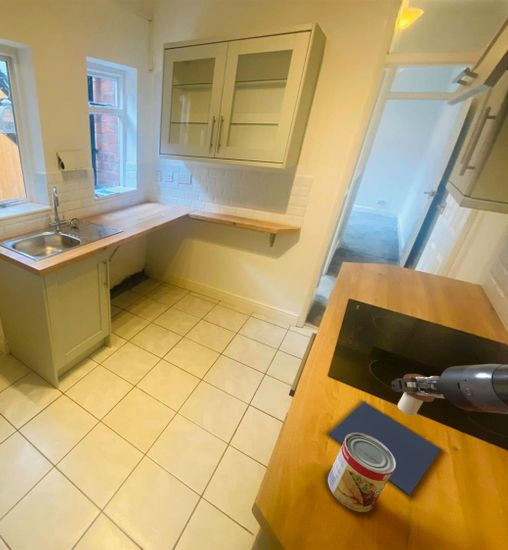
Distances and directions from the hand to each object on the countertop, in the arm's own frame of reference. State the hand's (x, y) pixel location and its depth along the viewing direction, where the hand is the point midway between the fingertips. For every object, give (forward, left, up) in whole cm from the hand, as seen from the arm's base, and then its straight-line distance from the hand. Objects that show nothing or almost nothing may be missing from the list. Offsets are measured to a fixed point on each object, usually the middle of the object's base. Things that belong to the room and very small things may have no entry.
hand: (409, 387), depth 66 cm
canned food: (+20, +2, -16) cm, 26 cm away
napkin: (+2, +1, -15) cm, 16 cm away
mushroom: (+1, +1, -5) cm, 5 cm away
